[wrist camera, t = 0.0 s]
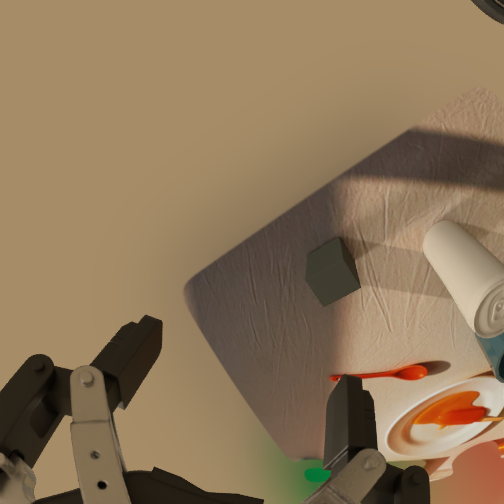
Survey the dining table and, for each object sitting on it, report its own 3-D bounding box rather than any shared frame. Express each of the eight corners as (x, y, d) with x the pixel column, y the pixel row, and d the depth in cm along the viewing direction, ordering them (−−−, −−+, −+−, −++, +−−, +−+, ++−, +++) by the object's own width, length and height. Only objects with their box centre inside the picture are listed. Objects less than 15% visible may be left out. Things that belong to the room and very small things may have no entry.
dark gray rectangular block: (306, 254, 28) (304, 280, 24) (339, 236, 27) (343, 259, 22) (322, 278, 29) (323, 307, 24) (354, 261, 27) (361, 287, 23)
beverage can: (461, 214, 23) (530, 270, 12) (462, 258, 25) (518, 329, 14) (419, 223, 24) (475, 288, 14) (422, 268, 26) (467, 347, 15)
